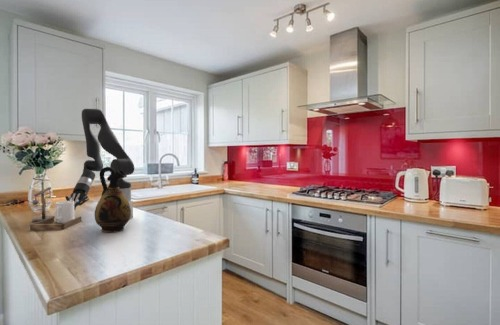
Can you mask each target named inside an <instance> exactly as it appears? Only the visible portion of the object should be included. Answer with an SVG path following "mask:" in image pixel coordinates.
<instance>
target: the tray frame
mask: <svg viewBox="0 0 500 325" xmlns="http://www.w3.org/2000/svg"><path fill="white" fill-rule="evenodd" d="M54 222H55V218H54V217H51V218H48V219H45V220H43V221H40V222H33V223H32V224H30V225H29V230H30V231H47V230H48V231H51V230H53V231H55V230H57V231H58V230H65V229H68V228H69V227H72V226H74V225H76V224H79V223H80V222H82V216H77V217H75V219H73V220H70V221H68V222H65V223H54Z"/></svg>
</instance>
